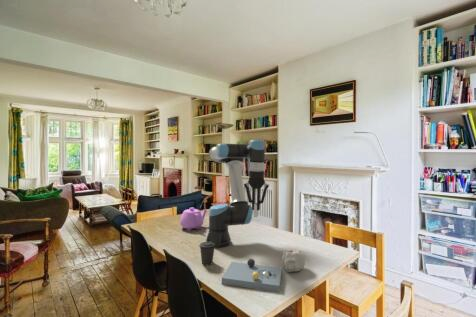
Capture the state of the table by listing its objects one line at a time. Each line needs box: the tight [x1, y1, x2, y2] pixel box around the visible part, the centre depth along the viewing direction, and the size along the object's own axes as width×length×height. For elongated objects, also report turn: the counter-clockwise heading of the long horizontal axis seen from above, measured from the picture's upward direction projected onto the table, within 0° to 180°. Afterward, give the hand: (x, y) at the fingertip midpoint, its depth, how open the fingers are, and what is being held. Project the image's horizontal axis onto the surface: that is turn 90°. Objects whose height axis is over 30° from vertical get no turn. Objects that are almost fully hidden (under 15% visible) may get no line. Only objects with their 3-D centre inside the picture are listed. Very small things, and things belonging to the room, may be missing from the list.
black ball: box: [246, 258, 256, 267], centre depth 113 cm, size 4×4×4 cm
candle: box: [281, 250, 306, 273], centre depth 117 cm, size 9×11×15 cm
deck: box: [221, 261, 283, 293], centre depth 108 cm, size 24×16×2 cm, turn 76°
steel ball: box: [262, 271, 270, 277], centre depth 106 cm, size 4×4×4 cm
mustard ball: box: [252, 272, 259, 280], centre depth 102 cm, size 3×3×3 cm
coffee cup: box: [198, 241, 216, 266], centre depth 122 cm, size 8×8×10 cm
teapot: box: [179, 207, 208, 232], centre depth 179 cm, size 20×20×15 cm
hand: (255, 216), depth 125 cm, fingers closed
